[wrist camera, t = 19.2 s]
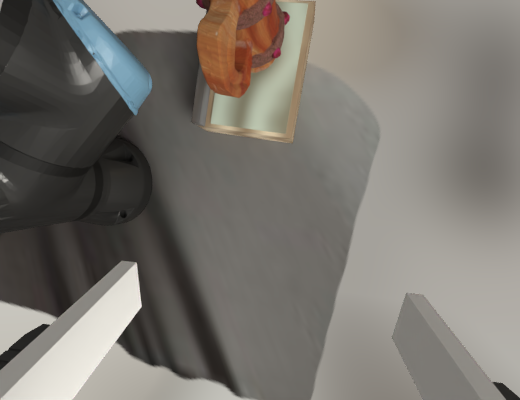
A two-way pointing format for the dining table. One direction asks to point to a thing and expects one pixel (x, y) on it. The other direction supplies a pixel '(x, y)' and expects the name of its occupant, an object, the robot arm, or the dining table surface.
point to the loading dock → (263, 87)
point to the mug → (238, 41)
